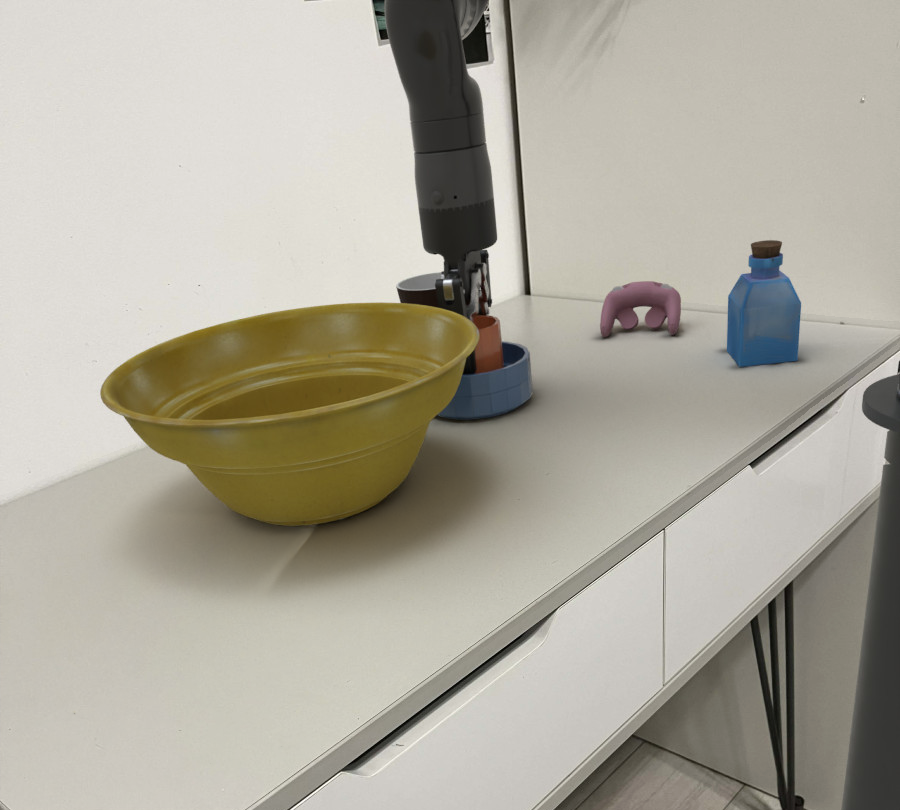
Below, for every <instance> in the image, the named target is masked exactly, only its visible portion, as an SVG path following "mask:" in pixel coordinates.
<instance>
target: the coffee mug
mask: <svg viewBox="0 0 900 810" xmlns="http://www.w3.org/2000/svg"><path fill="white" fill-rule="evenodd" d="M441 272H442V271H439V272H431V273H430V272H429V273H423V274H419V275H414V276H411V277H408V278H405V279H402V280H400V281H399V282H397V283H396V285H395V287H396V291H397V294H398V299H399V303H407V304H418V305H425V306H432V307H437V308H439V306H438V300H437V293H436V288H435V283H436V279H441Z"/></svg>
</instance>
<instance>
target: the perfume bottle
mask: <svg viewBox="0 0 900 810" xmlns="http://www.w3.org/2000/svg"><path fill="white" fill-rule="evenodd" d="M782 245H783V242H782V241H781V240H777V239H776V240H774V239H768V240H767V239H766V240H758V241H754V242H751V243H750V248H751V254H749V256H748V268H750V272H747V273H741V274H740V276H739V277H738V279H737V281H736V282H735V284H734V286H733V287H732V289H731V290H730V292H729V294H728V296H727V323H726V324H727V329H726V352H727V353H728V354H729V356H730V357H731V358H732V359H733V361H734V362H735V364H736V365H737V366H738V367H739V368H743V367H752V366H761V365H768V364H769V365H770V364H779V363H790V362H797V361H798V358H799V345H800V331H801V316H802V315H801V314H802V313H801V312H802V301H801V300H800V297H799V295H798V293H797V291H796V288H795V287H794V285H793V283H792V281H791V279H790V276H787V275H786V274H785V273H784V272H782V271H781V269H780V267H781V266H782V265H783V262H784V253H782V252H781V249H782Z"/></svg>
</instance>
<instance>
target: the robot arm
mask: <svg viewBox="0 0 900 810" xmlns="http://www.w3.org/2000/svg"><path fill="white" fill-rule="evenodd" d="M489 2H490V0H384V20H385V28H386V33H387V38H388V41H389V45H390V48H391V52H392V56H393V59H394V63H395V66H396V70H397V73H398V76H399V79H400V82H401V86H402V88H403V91H404V93H405V97H406V100H407V103H408V115H409V121H410V122H409V124H410V131H411V139H412V149H413V152H414V153H413V156H414V157H413V158H414V182H415V183H414V184H415V191H416V199H417V200H416V201H417V207H418V215H419V223H420V231H421V239H422V247H423V250H424V251H425V252H426V253H428V254H430V255H439V256H441V257H442V258H443V270H442V271H440V272H441V279H436V283H435V288H436V293H437V300H438V306H439V308H441V309H445V310H449V311H452V312H455V313H457V314H460V315H462V316H464V317H466V318H467V319H469V320H470V321H472V322H474V317H475V316H477V315H488V316H490V313H491V312H490V308H492V304H493V298H492V288H491V276H490V275H491V274H490V262H489V260H490V259H489V258H490V253H489V252H488V249H489V248H491V247H493V245H495V244H496V243H497V241H498V229H497V220H496V219H497V217H496V207H495V196H494V184H493V172H492V165H491V161H490V156H489V150H488V146H487V136H486V126H485V125H486V124H485V114H484V102H483V97H482V91H481V88H480V85H479V83H478V82H477V80H476V79H475V78H473V77H472V76H471V75H470V73H469V72H468V66H467V62H466V57H465V56H466V55H465V50H464V44H463V40H464V39H466V38H467V37H468V36H469V35H470V34H471V33H472V32H473V31H474V29H475V27H477V25H478V23H479V22H480V20H481V18H482V16H483V14H484V13H485V11H486V8H487V6H488V4H489ZM476 370H477V367H476V357H475V349H474V350H473V352H472V353H471V354H470V355H469V356H468V357H467V358H466V362H465V366H464V370H463V374H462V375H469V374H474V373H475V372H476ZM898 374H900V360H898V364H897V373H896V375H898ZM897 398H898V399H899V401H900V376H899V384H898V387H897Z"/></svg>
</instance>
